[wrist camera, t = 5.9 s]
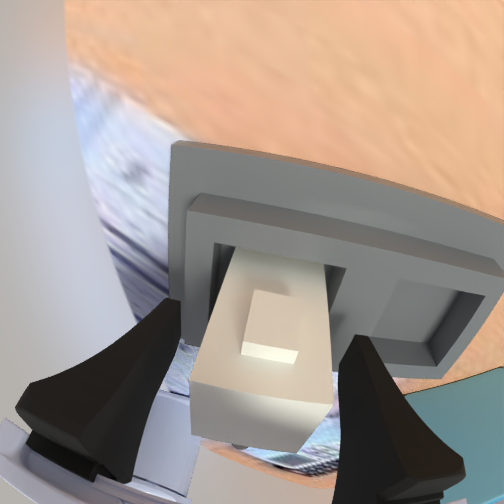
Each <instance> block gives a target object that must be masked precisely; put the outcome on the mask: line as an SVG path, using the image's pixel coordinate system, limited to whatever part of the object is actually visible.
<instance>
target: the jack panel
mask: <svg viewBox="0 0 504 504" xmlns="http://www.w3.org/2000/svg"><path fill="white" fill-rule="evenodd" d="M236 247H241V248H246V249H251V250H256V251H261V252H266V253H272V254H277V255H282V256H287V257H292V258H297V259H302V260H307V261H312V262H317V263H322V264H324V271H325V281H326V291H327V302H328V314H329V327H330V342H331V358H332V371H334V372H338V369H339V363H340V361H341V360H342V358H343V356H344V354H345V352H346V350H347V349H348V347H349V345H350V343H351V341H352V339H353V337H354V335H355V334H358V335H365V336H369V338H370V340H371V341H372V343H373V345H374V347H375V349H376V350H377V352H378V354H379V356H380V358H381V359H382V361H383V363H384V365H385V367H386V368H387V370H388V372H389V373H390V375H391V377H399V378H418V379H441V378H442V377H443V376H444V375H445V374H446V373H447V371H448V370H449V369H450V368H451V367H452V365H453V364H454V363H455V362H456V360H457V359H458V358H459V357H460V355H461V354H462V353H463V351H464V350H465V349H466V347H467V346H468V345H469V343H470V342H471V341H472V339H473V338H474V336H475V335H476V334H477V332H478V331H479V329H480V328H481V327H482V325H483V324H484V322H485V321H486V319H487V318H488V316H489V315H490V313H491V311H492V310H493V308H494V307H495V305H496V304H497V302H498V300H499V299H500V297H501V295H502V294H503V292H504V220H501V219H499V218H496V217H494V216H491V215H489V214H486V213H484V212H481V211H478V210H476V209H473V208H470V207H468V206H465V205H462V204H460V203H457V202H454V201H451V200H448V199H445V198H442V197H439V196H436V195H433V194H430V193H427V192H424V191H421V190H418V189H414V188H411V187H408V186H405V185H401V184H398V183H394V182H391V181H387V180H384V179H380V178H377V177H373V176H369V175H365V174H362V173H358V172H354V171H350V170H346V169H342V168H337V167H333V166H329V165H324V164H320V163H315V162H311V161H306V160H301V159H296V158H291V157H286V156H281V155H276V154H270V153H265V152H259V151H253V150H247V149H241V148H235V147H228V146H221V145H214V144H206V143H198V142H190V141H181V140H179V141H177V142H175V143H174V144H172V145H171V162H170V183H169V222H168V263H169V298H170V299H174V300H178V301H181V337H180V338H182V339H185V344H188V345H192V346H196V347H200V346H201V343H202V341H203V338H204V335H205V332H206V329H207V326H208V323H209V321H210V318H211V315H212V312H213V309H214V306H215V304H216V301H217V298H218V295H219V292H220V289H221V287H222V284H223V281H224V278H225V275H226V273H227V270H228V267H229V264H230V262H231V259H232V256H233V253H234V250H235V248H236Z"/></svg>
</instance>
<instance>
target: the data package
mask: <svg viewBox="0 0 504 504" xmlns="http://www.w3.org/2000/svg"><path fill="white" fill-rule="evenodd" d="M404 397H405V399H406V400H407V401H408V403H409V404H410V405H411V407H412V408H413V409H414V411H415V412H416V413H417V414H418V416H419V417H420V418H421V419H422V420H423V421H424V423H425V424H426V425H427V426H428V427H429V428H430V429H431V430H432V431H433V432H434V433H435V434H436V435H437V436H438V437H439V438H440V439H441V440H442V441H443V442H444V443H445V444H447V445H448V446H449V447H450V448H451V449H453V450H454V451H455V452H457V453H458V454H459V455H460V456H462V457H463V460H464V465H465V471H466V477H465V478H464V479H463V480H462V481H461V482H459V483H458V484H456V485H454V486H452V487H450V488H449V489H447V490H445V491H443V492H444V498H443V499H441V500H440V504H445V503H448V502H452V501H455V500H459V499H463V498H466V500H467V504H493V503H495V502H498V501H500V500H502V499H504V368H496V369H493V370H491V371H488V372H485V373H482V374H479V375H476V376H473V377H470V378H467V379H463V380H460V381H457V382H453V383H450V384H446V385H442V386H439V387H435V388H431V389H427V390H423V391H419V392H414V393H410V394H407V395H405V396H404Z"/></svg>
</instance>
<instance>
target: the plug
mask: <svg viewBox="0 0 504 504" xmlns="http://www.w3.org/2000/svg"><path fill="white" fill-rule="evenodd" d="M189 397H190V421H191V435H195V436H199V437H203V438H207V439H212V440H216V441H221V442H226V443H231V444H232V445H233V447H235V448H236V449H239V450H243V449H246V448H248V447H253V448H259V449H266V450H273V451H281V452H290V453H297V452H298V451H299V449H300V448H301V447H302V446H303V445H304V443H305V442H306V441H307V439H308V438H309V437H310V436H311V434H312V433H313V432H314V431H315V429H316V428H317V427H318V425H319V424H320V423H321V421H322V420H323V419H324V417H325V416H326V414H327V413H328V412H329V410H330V409H331V408H332V406H333V379H332V358H331V342H330V327H329V314H328V302H327V291H326V281H325V271H324V264H322V263H317V262H312V261H307V260H302V259H297V258H292V257H287V256H282V255H277V254H272V253H266V252H261V251H256V250H251V249H246V248H241V247H236V248H235V250H234V253H233V256H232V259H231V262H230V264H229V267H228V270H227V273H226V275H225V278H224V281H223V284H222V287H221V289H220V292H219V295H218V298H217V301H216V304H215V306H214V309H213V312H212V315H211V318H210V321H209V323H208V326H207V329H206V332H205V335H204V338H203V341H202V343H201V346H200V349H199V352H198V355H197V358H196V361H195V364H194V367H193V370H192V372H191V375H190V378H189Z"/></svg>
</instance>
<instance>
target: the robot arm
mask: <svg viewBox="0 0 504 504" xmlns="http://www.w3.org/2000/svg"><path fill="white" fill-rule="evenodd" d="M180 337H181V301H178V300H174V299H170V298H165V299H164V300H163V301H162V302H161V303H160V304H159V305H158V306H157V307H156V308H155V309H153V310H152V311H151V312H150V313H149V314H148V315H147V316H146V317H145V318H144V319H143V320H141V321H140V322H139V323H138V324H137V325H136V326H134V327H133V328H132V329H131V330H130V331H128V332H127V333H126V334H125V335H123V336H122V337H121V338H119V339H118V340H117V341H115V342H114V343H113V344H111V345H110V346H108V347H107V348H105V349H104V350H102V351H101V352H99V353H98V354H96V355H94V356H93V357H91V358H89V359H88V360H86V361H84V362H82V363H80V364H78V365H76V366H74V367H72V368H70V369H68V370H65V371H63V372H61V373H59V374H56V375H54V376H51V377H48V378H45V379H42V380H39V381H36V382H32V383H30V384H29V386H28V387H27V389H26V390H25V391H24V393H23V395H22V396H21V398H20V400H19V401H18V403H17V405H16V407H15V409H16V411H17V413H18V414H19V416H20V417H21V418H22V419H23V420H24V421H25V422H26V423H27V425H28V426H29V427H30V428H31V429H32V432H31V434H30V435H29V434H28V433H27V432H25V431H24V430H23V429H21V428H20V427H18V426H17V425H15V424H14V423H12V422H11V421H10V420H8V419H7V418H4V419H3V421H2V422H1V424H0V477H1V478H2V479H4V480H5V481H6V482H7V483H9V484H10V485H11V486H13V487H14V488H15V489H17V490H18V491H19V492H21V493H22V494H23V495H25V496H26V497H27V498H29V499H30V500H32V501H33V502H35V503H36V504H191V502H192V500H191V499H188V498H187V494H188V490H189V486H190V482H191V479H192V474H193V471H194V467H195V463H196V460H197V456H198V452H199V448H200V445H201V441H202V438H203V437H199V436H195V435H191V421H190V398H188V397H184V396H180V395H177V394H173V393H170V392H166V391H163V390H159V388H160V386H161V384H162V381H163V379H164V377H165V375H166V373H167V371H168V369H169V367H170V364H171V362H172V360H173V358H174V356H175V353H176V350H177V347H178V344H179V341H180ZM338 397H339V412H340V428H341V441H340V454H339V464H338V472H337V479H336V485H335V491H334V496H333V500H332V504H440V500H441V499H443V498H444V492H443V491H445V490H447V489H449V488H450V487H452V486H454V485H456V484H458V483H459V482H461V481H462V480H463V479H464V478H465V477H466V471H465V465H464V460H463V457H462V456H460V455H459V454H458V453H457V452H455V451H454V450H453V449H451V448H450V447H449V446H448V445H447V444H445V443H444V442H443V441H442V440H441V439H440V438H439V437H438V436H437V435H436V434H435V433H434V432H433V431H432V430H431V429H430V428H429V427H428V426H427V425H426V424H425V423H424V421H423V420H422V419H421V418H420V417H419V416H418V414H417V413H416V412H415V411H414V409H413V408H412V407H411V405H410V404H409V403H408V401H407V400H406V399H405V397H404V396H403V394H402V393H401V391H400V390H399V388H398V387H397V385H396V383H395V382H394V380H393V379H392V377H391V375H390V373H389V372H388V370H387V368H386V367H385V365H384V363H383V361H382V359H381V358H380V356H379V354H378V352H377V350H376V349H375V347H374V345H373V343H372V341H371V340H370V338H369V336H365V335H358V334H355V335H354V337H353V339H352V341H351V343H350V345H349V347H348V349H347V350H346V352H345V354H344V356H343V358H342V360H341V361H340V363H339V369H338ZM445 504H467V500H466V498H463V499H459V500H455V501H452V502H448V503H445Z"/></svg>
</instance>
